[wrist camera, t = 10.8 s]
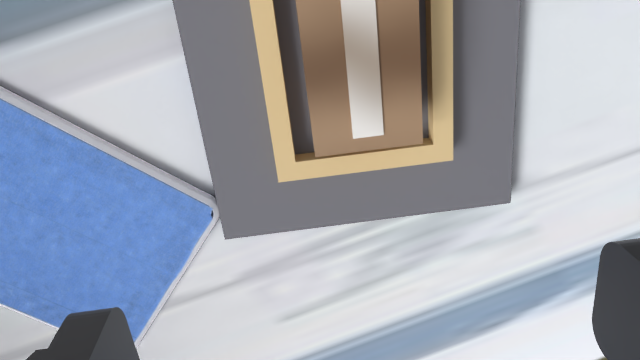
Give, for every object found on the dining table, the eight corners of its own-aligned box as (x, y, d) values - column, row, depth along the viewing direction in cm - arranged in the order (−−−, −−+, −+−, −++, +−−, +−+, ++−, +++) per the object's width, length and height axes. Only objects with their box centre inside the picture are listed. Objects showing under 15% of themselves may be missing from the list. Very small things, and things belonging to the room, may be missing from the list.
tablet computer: (-202, 210, 28) (-223, 222, 27) (-141, 4, 24) (-162, 7, 23) (134, 347, 34) (129, 362, 33) (230, 196, 30) (228, 207, 29)
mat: (226, 231, 30) (223, 249, 28) (135, -189, 22) (123, -199, 20) (505, 196, 30) (517, 211, 29) (524, -236, 22) (543, -250, 20)
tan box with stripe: (288, -57, 23) (288, -56, 20) (401, -71, 23) (417, -72, 20) (312, 134, 27) (315, 158, 24) (408, 122, 27) (423, 144, 24)
